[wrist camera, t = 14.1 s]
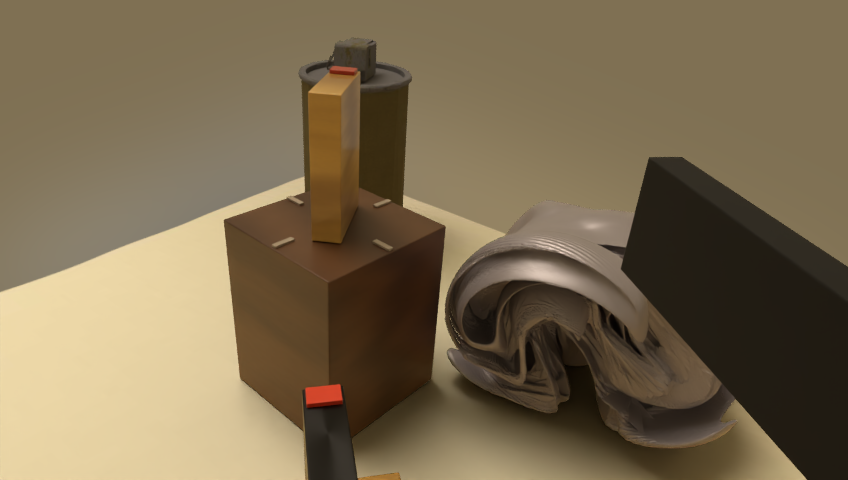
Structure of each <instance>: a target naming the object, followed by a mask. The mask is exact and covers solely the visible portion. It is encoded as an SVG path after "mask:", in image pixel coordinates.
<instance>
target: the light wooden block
mask: <svg viewBox="0 0 848 480" xmlns="http://www.w3.org/2000/svg"><path fill="white" fill-rule="evenodd" d="M358 480H401V479H400V475H399V473H392V474H384V475H377V476H370V477H363V478H358Z"/></svg>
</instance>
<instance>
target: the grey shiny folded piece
mask: <svg viewBox="0 0 848 480" xmlns="http://www.w3.org/2000/svg"><path fill="white" fill-rule="evenodd" d="M634 214H635V213H632V212H625V211H616V210H601V209H598V210H597V209H589V208H584V207H580V206H576V205H571V204H567V203H561V202H556V201H551V200H546V201H542V202H539V203H537V204H536V205H534V206H533V207H531V208H530V209H529V210H528V211H527V212H525V213H524V214H523V215H522V216H521V217H520V218H519V219H518V220H517V221H516V222H515V223H514V225H513V226H512V227H511V228H510V229H509V231H508V232H507V234H506V235H505V236H503V237H501V238H498V239H496V240H494V241H492V242H490V243H488V244H486V245H485V246H483V247H482V248H480V249H479V250H478V251H476V252H475V253H474V254H473V255H472V256H471V257H470V258H469V259H468V260H467V261H466V262H465V263H464V264H463V265H462V267H461V268H460V269H459V270H458V272H457V273H456V275H455V277H454V279H453V281H452V282H451V285H450V288H449V291H448V292H447V293H448V294H447V297H446V303H445V304H446V305H445V307H446V308H445V313H446V314H445V315H446V316H445V318H446V319H445V320H446V321H445V322H446V325H447V328H448V331H449V330H450V331H449V332H448V333H450V336H451V338H452V341H453V342H454V343H455V345H456V347H457V348H458V349H459V350H457V349H454V348H450V349H448V351H447V355H448V358H449V360H450V362H451V363H452V365H453V366H454V367H455V368H456V369H457V370H458V371H459V372H460V373H461V374H462V375H463V376H465V377H466V378H467V379H468V380H470V381H471V382H472V383H474V384H476V386H479V387H481V388H482V389H485V390H487V391H489V392H491V393H492V394H495V395H498V396H501V397H504V398H506V399H507V400H511V401H513V402H515V403H517V404H520V405H525V407H526V408H530V407H532V408H533V409H536V410H538V411H542V412H545V413H553V412H556V411H557V410H558V407H557V406H558V405H559V403H560V402H563V401H564V402H565V401H566V400H567V399H568V400H569V396H570V392H569V391H570V385H569V380H568V377H567V374H566V371H565V368H564V365H569V366H584V365H589V368H590V371H591V374H592V376H593V379H594V382H595V385H594V386H595V389H596V399H597V404H598V409H599V412H600V415H601V418H602V420H603V421H604V423H605V424H606V425H607V426H608V427H609V428H610V429H612V430H616V431H618V432H619V435H621V436H622V437H623V438H624V439H625V440H627V441H630V442H632V443H634V444H638V445H642V446H647V447H652V448H688V447H694V446H699V445H702V444H706V443H708V442H711V441H713V440H716V439H718V438H719V437H721V436H723V435H725V434H726V433H727V432H728V431H729V430H730V429H731V428H732V427H733V426H734V425H735V424H736V422H737V420H732V421H729V422H726V423H722V422H721V418H722V416H723V414H724V413H725V411H727V409H728V407H729V406H731V405H730V404H731V403H732V402H733V401H734V400H735V398H734V396H733V395H732V394H731V393H730V392H729V391H728V390H727V389H726V387H725V386H724V385H723V384H722V383H721V382H720V381H719V380H718V378H717V377H716V376H715V375H714V374H713V373H712V372H711V370H710V369H709V368H708V367H707V366H706V365H705V364H704V363H703V361H702V360H701V359H700V358H699V357H698V356H697V355H696V354H695V352H694V351H693V350H692V349H691V348H690V347H689V346H688V345H687V343H686V342H685V341H684V340H683V339H682V338H681V337H680V336H679V334H678V333H677V332H676V331H675V330H674V329H673V328H672V326H671V325H670V324H669V323H668V322H667V321H666V320H665V319H664V317H663V316H662V315H661V314H660V313H659V312H658V311H657V310H656V308H655V307H654V306H653V305H652V304H651V303H650V302H649V301H648V299H647V298H646V297H645V296H644V295H643V294H642V293H641V292H640V290H639V289H638V288H637V287H636V286H635V285H634V284H633V282H632V281H631V280H630V279H629V278H628V277H627V276H626V275H625V273H624V272H623V271H622V270H621V265H622V261H623V257H624V254H625V250H626V246H627V242H628V238H629V234H630V230H631V226H632V222H633V218H634ZM451 311H452V313H451ZM449 315H450V317H449ZM452 315H453V316H452ZM450 318H451V320H452V321H451V320H450ZM452 325H453V326H452ZM454 328H455V329H454ZM454 330H456V331H457V332H458V333H459V334H458V333H456V331H454ZM459 335H460V336H459ZM456 338H457V339H456ZM457 340H458V341H459V342H460V344H459V342H458V341H457ZM728 401H729V402H728ZM532 408H531V409H532Z"/></svg>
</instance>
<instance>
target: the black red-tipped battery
mask: <svg viewBox="0 0 848 480" xmlns="http://www.w3.org/2000/svg"><path fill="white" fill-rule="evenodd" d="M302 406H303V431H304V456H305V480H358V478H357V471H356V465H355V458H354V452H353V445H352V439H351V433H350V426H349V420H348V413H347V407H346V400H345V394H344V387H343V386H342V385H341V386H340V384H337V385H328V386H318V387H308V388H305V389H303V390H302Z"/></svg>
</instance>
